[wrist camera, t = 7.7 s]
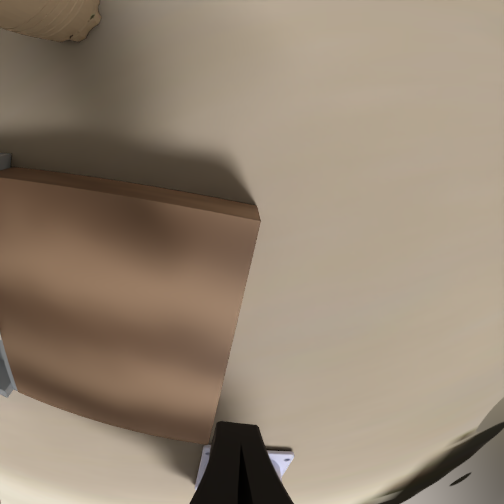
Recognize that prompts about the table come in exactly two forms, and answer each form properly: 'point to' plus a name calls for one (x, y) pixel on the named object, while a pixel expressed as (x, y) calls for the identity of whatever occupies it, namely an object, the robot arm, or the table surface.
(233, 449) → the robot arm
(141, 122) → the table surface
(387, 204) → the table surface
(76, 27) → the handle
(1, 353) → the box
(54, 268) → the walnut board
